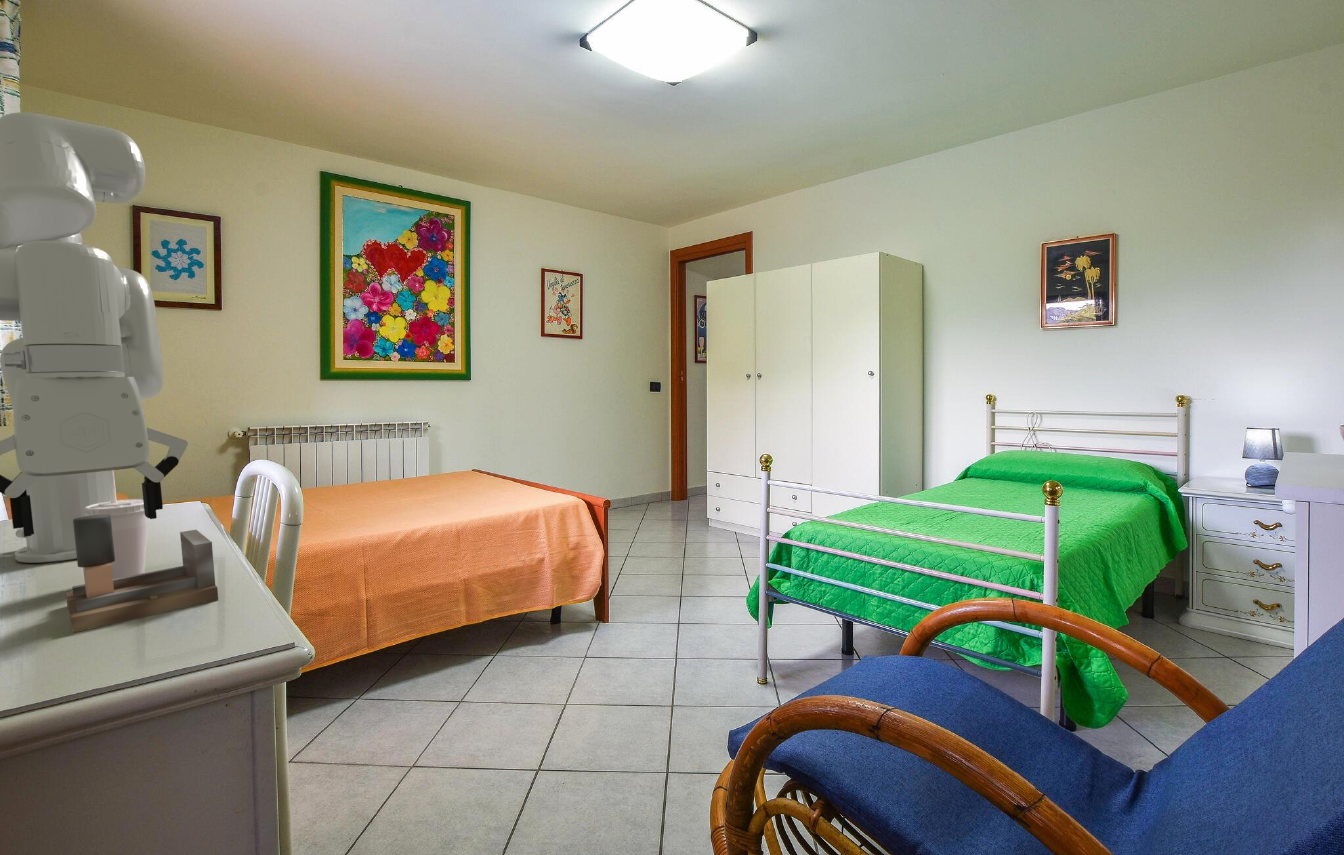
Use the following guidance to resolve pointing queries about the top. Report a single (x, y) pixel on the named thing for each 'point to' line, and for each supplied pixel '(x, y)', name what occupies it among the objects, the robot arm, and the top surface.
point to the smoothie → (124, 531)
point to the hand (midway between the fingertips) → (93, 525)
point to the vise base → (150, 589)
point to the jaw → (95, 552)
